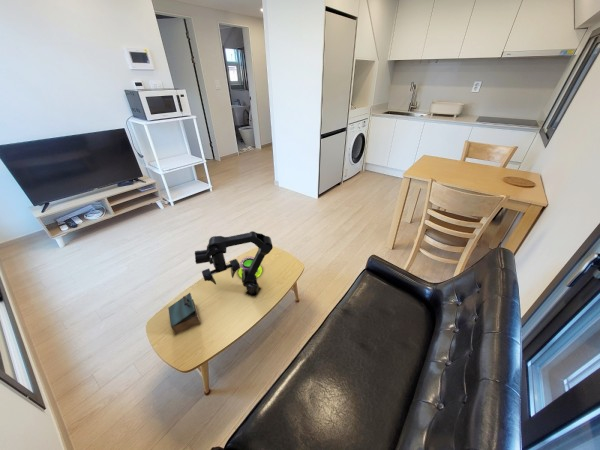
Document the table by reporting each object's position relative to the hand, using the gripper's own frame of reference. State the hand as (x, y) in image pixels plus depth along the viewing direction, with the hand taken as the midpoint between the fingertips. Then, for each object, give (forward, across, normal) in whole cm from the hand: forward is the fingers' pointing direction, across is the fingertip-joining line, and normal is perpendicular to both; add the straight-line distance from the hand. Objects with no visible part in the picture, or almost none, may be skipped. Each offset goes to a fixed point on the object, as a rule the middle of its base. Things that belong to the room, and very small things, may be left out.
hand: (224, 280), depth 130 cm
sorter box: (+13, +24, +4) cm, 27 cm away
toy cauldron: (+13, -18, -13) cm, 26 cm away
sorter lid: (+4, +23, +4) cm, 24 cm away
